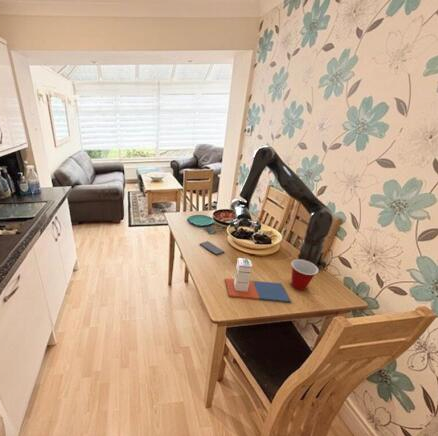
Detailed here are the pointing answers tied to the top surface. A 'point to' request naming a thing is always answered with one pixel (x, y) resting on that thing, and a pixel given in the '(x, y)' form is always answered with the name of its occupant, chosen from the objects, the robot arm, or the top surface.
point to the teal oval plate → (203, 222)
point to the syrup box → (242, 274)
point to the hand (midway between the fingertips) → (246, 230)
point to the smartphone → (212, 248)
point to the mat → (259, 291)
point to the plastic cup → (302, 273)
